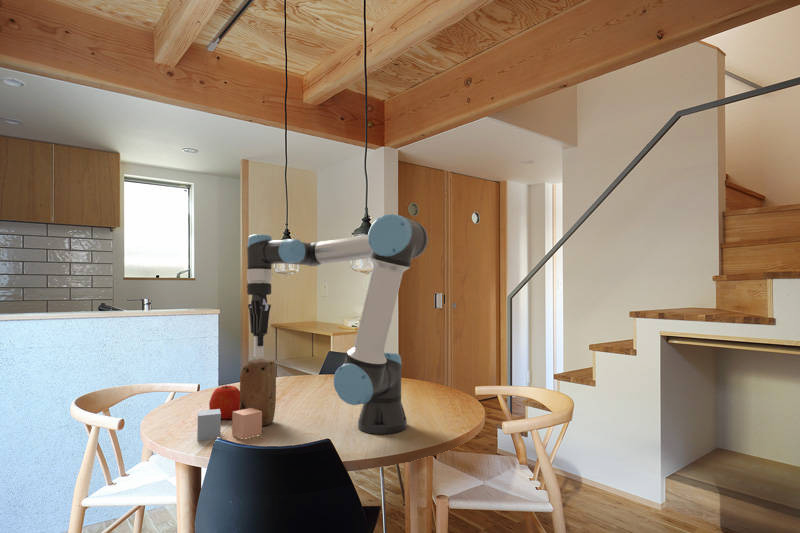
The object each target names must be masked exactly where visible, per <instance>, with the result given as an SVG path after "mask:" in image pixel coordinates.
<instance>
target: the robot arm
mask: <svg viewBox="0 0 800 533" xmlns="http://www.w3.org/2000/svg"><path fill="white" fill-rule="evenodd" d="M428 235H429V234H428V232H427V230H426V228H425V227H424V226H423V225H422V224H421V222H418V221H416V220H413V219H410V218H408V217H405V216H403V215H400V214H394V213H389V214H388V213H387V214H384V215H382V216H380V217H378V218H376V219H375V220H374V221H373V222H372V224H371V226H370V228H369V229H368V234H364V235H358V236H351V237H343V238H336V239H330V240H321V241H316V242H315V241H314V242H302V241H301V240H300V239H297V238H286V239H275V240H273V238H272V236H271V235H269V234H261V233H258V234H256V233H255V234H250V235H249V236H248V238H247V247H246V250H247V252H246V254H247V269H246V281H247V282H248V283H247V285H246V294H247V295H248V296H251V302H250V303H248V304H247V306H248V307H247V308H248V311H249V312H248V314H249V324H250V326H249V327H250V333H251V334H252V335H253V357H254V358H258V357H260V358H261V357H264V353H265V352H264V351H265V346H264V344H265V336H266V335H267V334H268V330H269V328H268V327H269V320H270V311H271V308H272V307H271V306H272V304H268V299H267V298H268V297H267V295H268V296H271V294H272V283H270V282H272V276H273V272H272V267H273V266H272V265H274V264H275V265H276V264H278V265H279V264H286V265H287V264H288V265H302V266H309V267H317V266H318V267H319V266H320V265H323V264H330V263H340V262H341V263H342V262H349V261H359V260H366V259H367V260H368V259H369V260H370V262H371V263H372V270H371V274H370V277H369V278H370V279H369V284H368V287H367V291H366V295H365V299H364V303H363V308H362V312H361V316H360V319H359V324H358V328H357V332H356V336H355V341H354V345H353V346H352V347H351V348H350V349H349V348H348V350H347V352H346V355H345V359H344V362H343V364H342V365H341V366H339V367H338V368H337V369H336V370H335V373H334V376H333V387H334V391H335V392H336V393H337V395H338V398H339V399H341V401H343V402H345V403H346V404H348V405H350V406H358V405H362V408H361V410H360V414H359V417H358V419H357V422H358V423H357V428H358V430H360V431H362V432H364V433H368V434H375V435H387V434H396V433H400V432H403V431H405V430H406V429H407V427H408V420H407V415H406V413H405V409H404V406H403V402H402V366H403V365H402V358H401V357H402V356H401V355H400V354H399V353H398V352H396V353H395V352H384V351H385V348H386V343H387V339H388V335H389V331H390V327H391V322H392V319H393V315H394V310H395V308H396V307H395V306H396V302H397V298H398V294H399V290H400V286H401V282H402V279H403V275H404V273H405V272H406V271H407V270H409V269H410V268H411V264H412V260H413V259H415V258H418V257H419V256H421V255H422V254H423V253H424V252H425V251H426V249H427V247H428V243H429V236H428Z"/></svg>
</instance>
